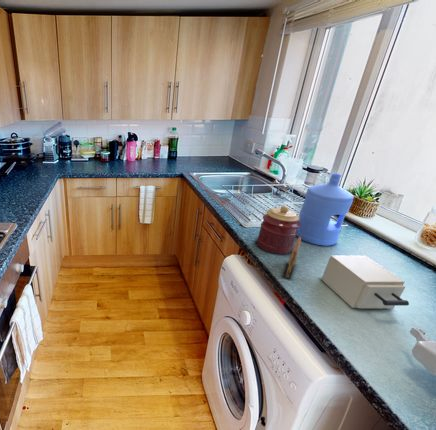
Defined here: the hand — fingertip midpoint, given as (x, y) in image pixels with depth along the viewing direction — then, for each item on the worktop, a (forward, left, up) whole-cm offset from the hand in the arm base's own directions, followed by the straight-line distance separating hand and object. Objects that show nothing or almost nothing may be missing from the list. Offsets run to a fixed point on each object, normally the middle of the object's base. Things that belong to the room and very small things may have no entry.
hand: (432, 329), depth 69 cm
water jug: (+19, -55, -7) cm, 59 cm away
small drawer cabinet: (+11, -18, -7) cm, 22 cm away
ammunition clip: (+29, -21, -7) cm, 36 cm away
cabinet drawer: (+9, -15, -6) cm, 18 cm away
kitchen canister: (+34, -38, -7) cm, 51 cm away
